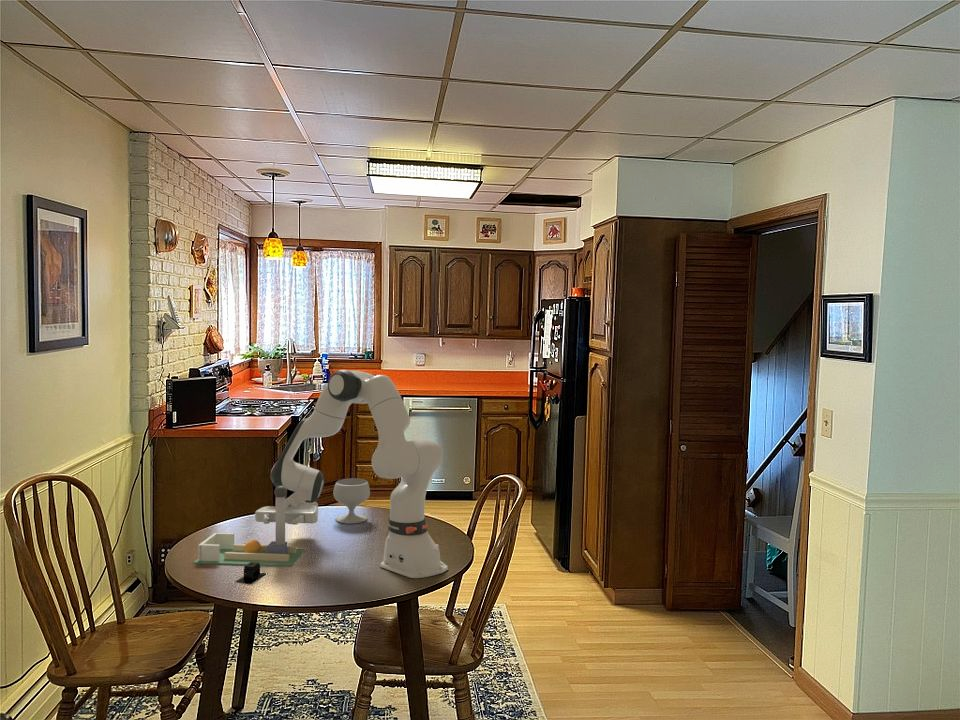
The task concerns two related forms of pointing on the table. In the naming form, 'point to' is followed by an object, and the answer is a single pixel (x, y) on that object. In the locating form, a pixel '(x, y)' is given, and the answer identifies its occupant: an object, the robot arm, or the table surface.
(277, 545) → the lever
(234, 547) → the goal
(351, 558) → the table surface
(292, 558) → the pitch
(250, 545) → the ball
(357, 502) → the chalice
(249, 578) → the black boxy piece
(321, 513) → the table surface
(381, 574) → the table surface
